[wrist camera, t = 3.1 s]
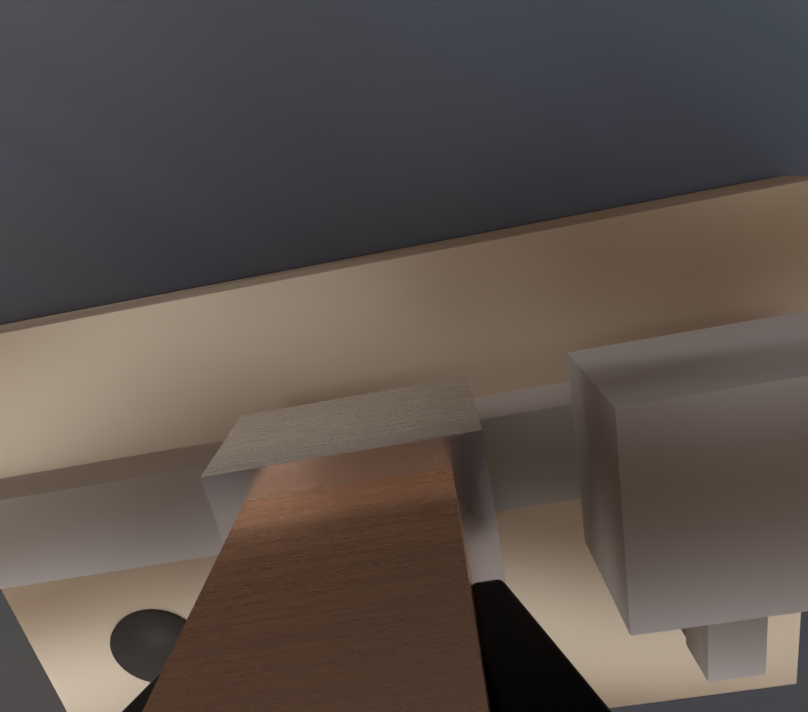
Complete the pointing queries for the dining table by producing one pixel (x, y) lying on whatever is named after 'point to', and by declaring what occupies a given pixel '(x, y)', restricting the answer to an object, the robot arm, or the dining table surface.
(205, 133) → the dining table surface
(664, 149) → the dining table surface
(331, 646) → the sliding leg
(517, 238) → the wooden base plate
